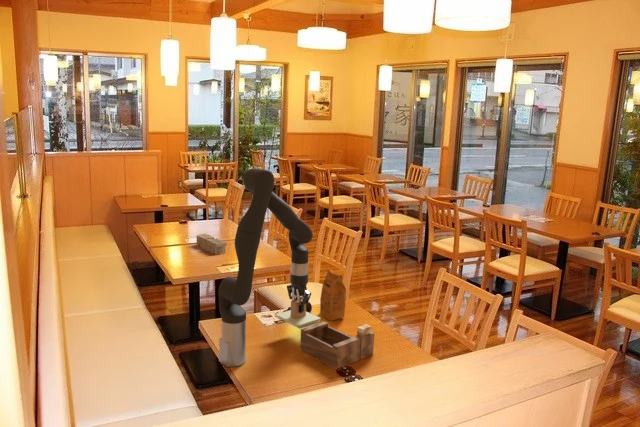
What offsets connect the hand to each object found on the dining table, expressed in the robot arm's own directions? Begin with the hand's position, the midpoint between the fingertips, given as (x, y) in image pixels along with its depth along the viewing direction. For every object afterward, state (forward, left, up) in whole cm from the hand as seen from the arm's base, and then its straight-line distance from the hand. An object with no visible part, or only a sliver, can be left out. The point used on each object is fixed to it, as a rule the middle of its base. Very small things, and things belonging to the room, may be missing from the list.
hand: (298, 311), depth 230 cm
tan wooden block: (+10, -28, -3) cm, 30 cm away
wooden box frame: (+4, -20, -12) cm, 24 cm away
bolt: (+17, +20, -13) cm, 29 cm away
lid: (0, 0, -4) cm, 4 cm away
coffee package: (+29, +9, -13) cm, 33 cm away
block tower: (+44, +143, -13) cm, 150 cm away
